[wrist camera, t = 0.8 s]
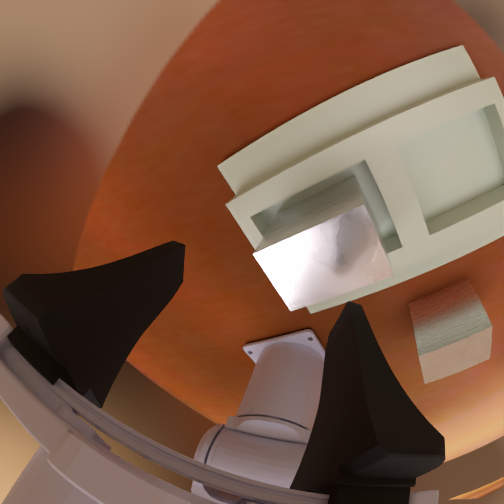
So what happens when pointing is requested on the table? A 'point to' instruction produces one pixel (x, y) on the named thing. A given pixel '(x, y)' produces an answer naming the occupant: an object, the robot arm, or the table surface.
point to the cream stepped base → (390, 163)
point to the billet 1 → (324, 246)
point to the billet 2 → (450, 331)
